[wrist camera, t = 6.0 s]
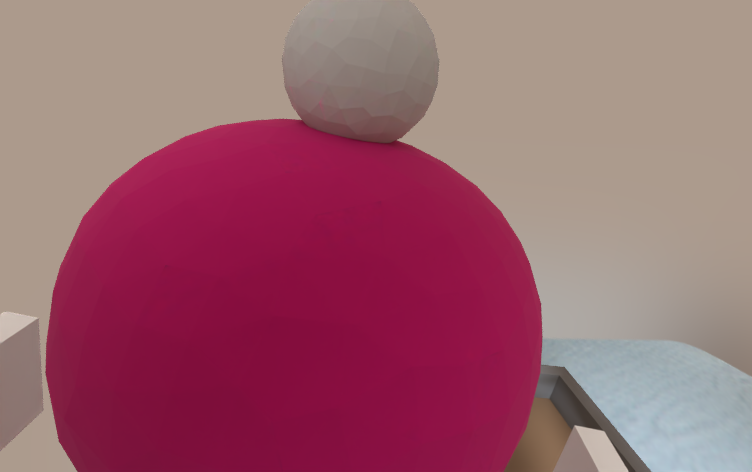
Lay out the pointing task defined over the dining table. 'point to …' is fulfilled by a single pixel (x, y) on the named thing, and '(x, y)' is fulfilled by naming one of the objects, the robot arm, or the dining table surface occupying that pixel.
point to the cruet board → (563, 424)
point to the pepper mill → (300, 285)
